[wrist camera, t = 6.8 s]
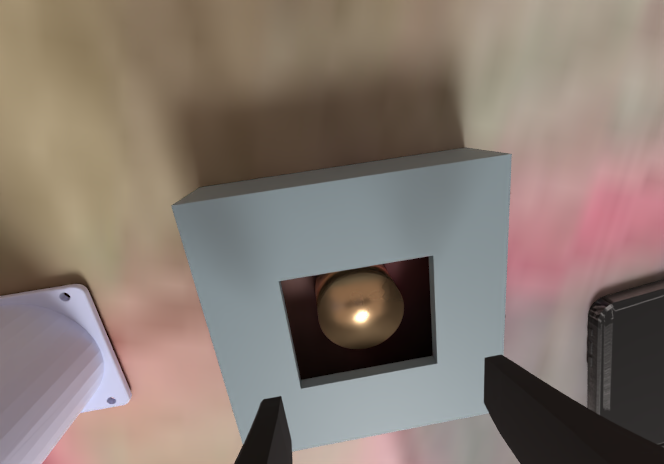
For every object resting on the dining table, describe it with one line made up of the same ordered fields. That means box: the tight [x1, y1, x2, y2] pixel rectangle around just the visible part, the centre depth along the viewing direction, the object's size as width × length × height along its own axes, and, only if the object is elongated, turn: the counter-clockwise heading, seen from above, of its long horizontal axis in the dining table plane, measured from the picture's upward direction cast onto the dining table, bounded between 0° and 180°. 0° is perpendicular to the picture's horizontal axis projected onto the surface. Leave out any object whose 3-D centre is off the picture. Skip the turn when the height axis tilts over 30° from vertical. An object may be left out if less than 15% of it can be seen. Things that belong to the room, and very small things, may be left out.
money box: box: [171, 148, 512, 451], centre depth 17 cm, size 14×14×4 cm
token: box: [315, 264, 404, 349], centre depth 18 cm, size 4×4×3 cm
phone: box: [588, 280, 664, 447], centre depth 24 cm, size 8×1×15 cm
